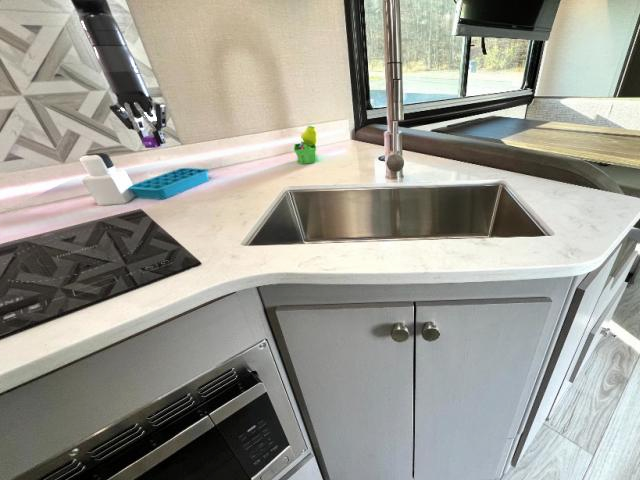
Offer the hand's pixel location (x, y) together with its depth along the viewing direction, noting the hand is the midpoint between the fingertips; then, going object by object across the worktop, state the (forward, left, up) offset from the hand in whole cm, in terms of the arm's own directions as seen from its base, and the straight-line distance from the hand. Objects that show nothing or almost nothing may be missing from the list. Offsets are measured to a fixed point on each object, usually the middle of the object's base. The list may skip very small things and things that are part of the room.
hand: (155, 145), depth 88 cm
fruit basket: (+35, +28, -12) cm, 46 cm away
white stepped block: (-11, -9, -12) cm, 19 cm away
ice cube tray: (0, 0, -12) cm, 12 cm away
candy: (0, 0, 0) cm, 0 cm away
